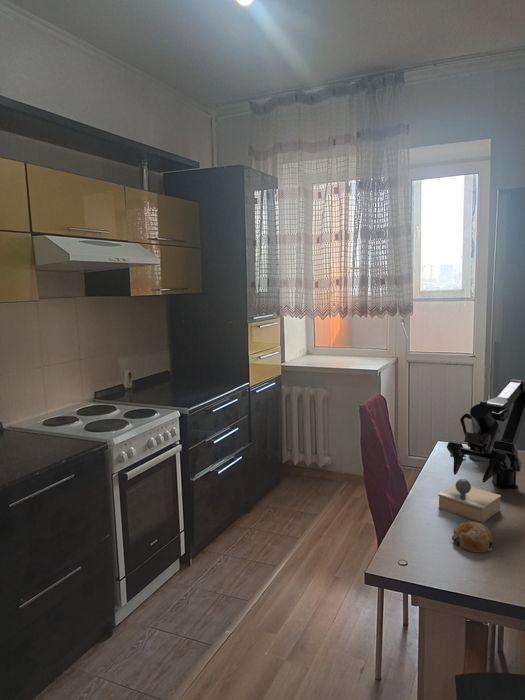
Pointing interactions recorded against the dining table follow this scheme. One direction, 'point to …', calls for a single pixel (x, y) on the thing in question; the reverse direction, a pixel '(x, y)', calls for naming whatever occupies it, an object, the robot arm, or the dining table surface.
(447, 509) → the wooden box
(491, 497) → the lid
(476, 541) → the bread roll
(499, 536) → the dining table surface
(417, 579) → the dining table surface
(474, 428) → the moka pot
